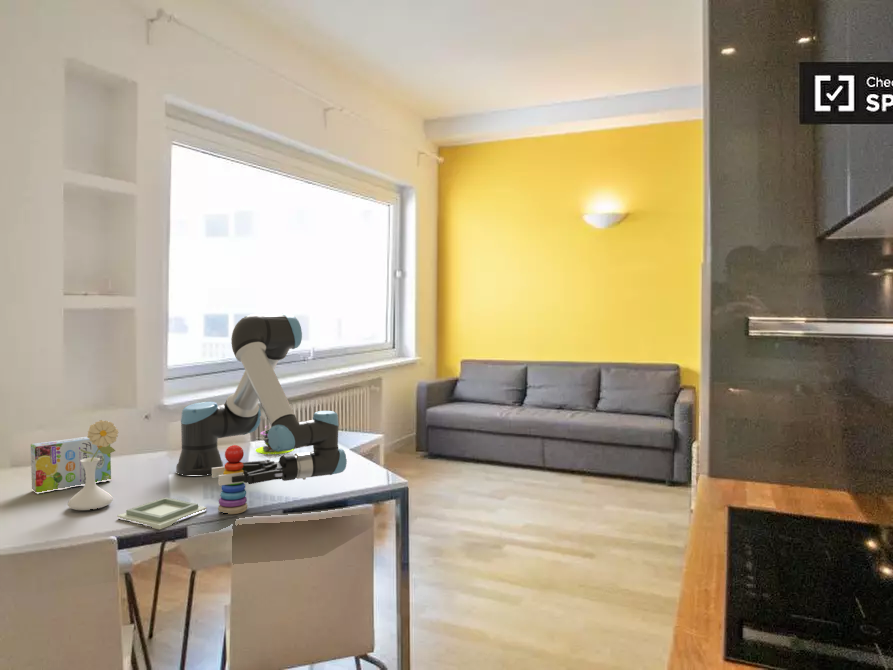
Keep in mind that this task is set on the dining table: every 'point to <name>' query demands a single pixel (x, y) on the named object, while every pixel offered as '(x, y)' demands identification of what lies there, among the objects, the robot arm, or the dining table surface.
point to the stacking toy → (233, 493)
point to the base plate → (161, 512)
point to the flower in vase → (91, 493)
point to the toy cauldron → (268, 446)
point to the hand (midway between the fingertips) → (215, 476)
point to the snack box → (65, 463)
